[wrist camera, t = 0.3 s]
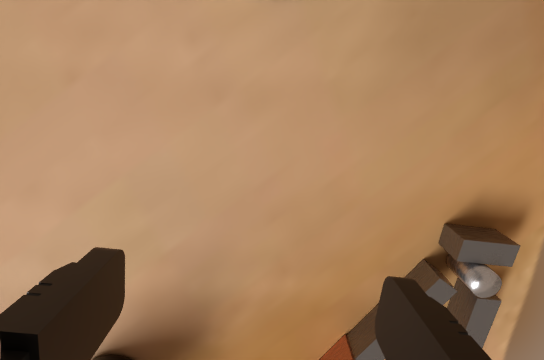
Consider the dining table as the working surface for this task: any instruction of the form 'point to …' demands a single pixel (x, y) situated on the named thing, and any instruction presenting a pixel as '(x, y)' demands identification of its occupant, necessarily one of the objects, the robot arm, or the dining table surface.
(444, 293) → the tong arm
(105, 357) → the supplement bottle
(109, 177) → the dining table surface
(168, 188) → the dining table surface
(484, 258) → the tongs fixed
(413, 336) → the robot arm
